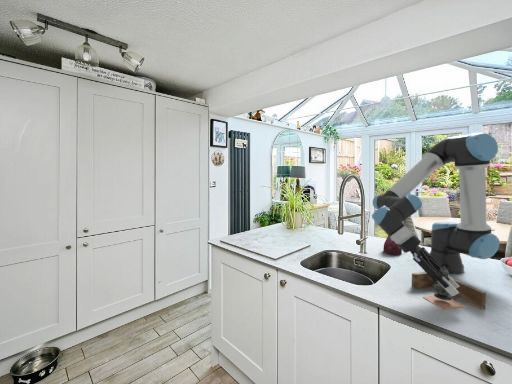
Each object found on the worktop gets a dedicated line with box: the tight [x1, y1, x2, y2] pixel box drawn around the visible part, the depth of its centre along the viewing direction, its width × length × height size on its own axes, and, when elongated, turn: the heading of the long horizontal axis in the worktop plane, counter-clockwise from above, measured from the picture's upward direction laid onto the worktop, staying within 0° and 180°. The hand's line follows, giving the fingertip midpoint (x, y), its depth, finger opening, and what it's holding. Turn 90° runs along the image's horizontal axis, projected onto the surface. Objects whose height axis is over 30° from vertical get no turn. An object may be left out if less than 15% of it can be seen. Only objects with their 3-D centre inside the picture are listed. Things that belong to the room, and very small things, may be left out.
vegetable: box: [382, 235, 403, 256], centre depth 151 cm, size 10×10×15 cm
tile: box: [422, 294, 466, 311], centre depth 94 cm, size 9×9×1 cm
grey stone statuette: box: [433, 266, 453, 300], centre depth 93 cm, size 6×6×12 cm
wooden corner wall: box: [411, 271, 487, 310], centre depth 97 cm, size 12×20×6 cm, turn 9°
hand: (455, 291), depth 91 cm, fingers closed on grey stone statuette, 5 cm apart
